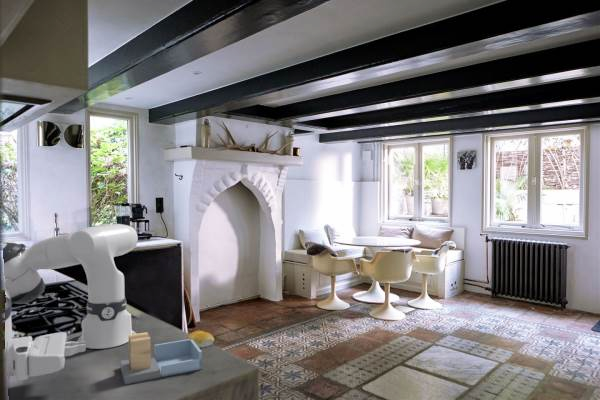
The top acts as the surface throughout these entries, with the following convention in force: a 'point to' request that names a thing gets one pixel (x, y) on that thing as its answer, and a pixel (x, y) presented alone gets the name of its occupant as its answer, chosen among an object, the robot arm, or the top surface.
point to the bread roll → (201, 338)
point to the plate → (139, 372)
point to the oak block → (139, 351)
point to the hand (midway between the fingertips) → (85, 346)
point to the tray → (178, 357)
